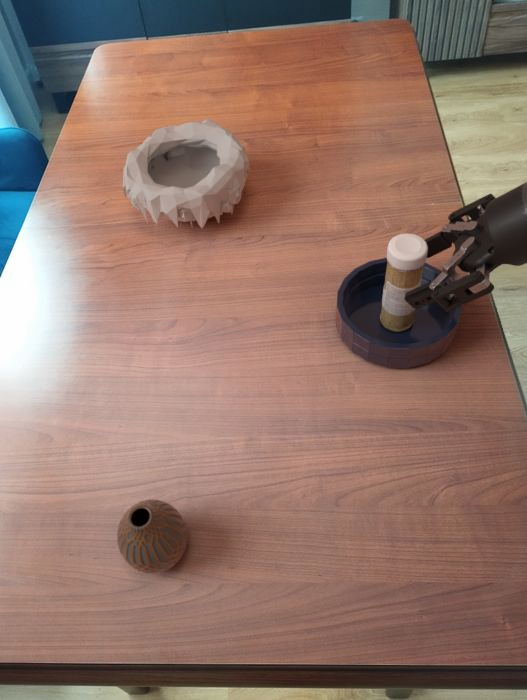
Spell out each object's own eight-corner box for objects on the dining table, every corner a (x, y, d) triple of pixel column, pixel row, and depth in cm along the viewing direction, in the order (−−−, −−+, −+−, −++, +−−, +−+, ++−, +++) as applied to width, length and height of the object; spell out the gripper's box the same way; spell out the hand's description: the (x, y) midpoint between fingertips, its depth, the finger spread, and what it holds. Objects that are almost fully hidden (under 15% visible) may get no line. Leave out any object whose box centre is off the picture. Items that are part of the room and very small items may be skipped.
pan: (475, 355, 74) (482, 333, 70) (356, 381, 73) (357, 360, 69) (429, 271, 83) (434, 247, 80) (323, 293, 82) (323, 270, 79)
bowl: (279, 184, 98) (275, 130, 90) (212, 262, 88) (201, 209, 80) (179, 155, 106) (168, 103, 98) (108, 223, 96) (88, 171, 88)
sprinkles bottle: (391, 302, 80) (402, 226, 69) (420, 317, 78) (436, 241, 67) (372, 323, 78) (380, 248, 67) (401, 339, 76) (414, 264, 65)
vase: (139, 593, 60) (114, 566, 53) (121, 533, 64) (96, 500, 57) (201, 563, 61) (186, 533, 54) (180, 506, 65) (163, 471, 58)
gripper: (529, 146, 61) (405, 217, 73) (520, 237, 53) (383, 300, 65) (567, 195, 64) (442, 255, 76) (564, 288, 56) (425, 338, 68)
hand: (415, 275), depth 70 cm, fingers open, 8 cm apart
